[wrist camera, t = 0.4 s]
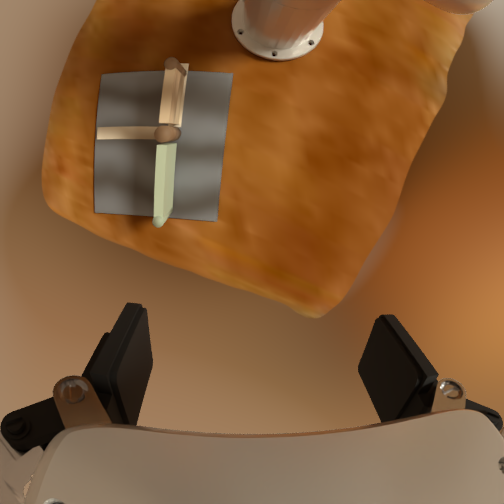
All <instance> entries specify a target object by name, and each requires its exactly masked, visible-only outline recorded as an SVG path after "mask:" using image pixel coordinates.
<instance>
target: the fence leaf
mask: <svg viewBox="0 0 504 504" xmlns="http://www.w3.org/2000/svg"><path fill="white" fill-rule="evenodd" d="M176 147H177V143H164V144H159V145H157V151H156V167H155V187H154V218H153V221H152V222H153V225H154V226H155V227H161V226H162V225H163V224H164V222H165V221H166V220H167V218H168V217H169V216H170V214H171V213H172V212H173V191H174V174H175V160H176Z"/></svg>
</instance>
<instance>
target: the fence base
mask: <svg viewBox="0 0 504 504" xmlns="http://www.w3.org/2000/svg"><path fill="white" fill-rule="evenodd" d="M164 66H165V71H140V72H123V73H111V74H102V77H101V84H100V92H99V101H98V110H97V122H96V137H95V162H94V199H95V213H110V214H125V215H140V216H154V187H155V167H156V151H157V145H159V144H164V143H177V147H176V160H175V174H174V191H173V212H172V213H171V214H170V216H169V217H168V218H180V219H192V220H204V221H216V222H217V217H218V206H219V195H220V184H221V174H222V164H223V154H224V145H225V136H226V127H227V119H228V110H229V102H230V94H231V87H232V79H233V74H232V73H220V72H202V71H188V66H189V64H186V63H179V61H178V60H177V59H176V58H174V57H169V58H167V59H166V60H165V62H164Z"/></svg>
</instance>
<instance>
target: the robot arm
mask: <svg viewBox="0 0 504 504" xmlns="http://www.w3.org/2000/svg"><path fill="white" fill-rule="evenodd" d="M340 1H341V0H239V1H238V2H237V4H236V5H235V7H234V9H233V13H232V29H233V32H234V35H235V36H236V38H237V40H238V41H239V42H240V43H241V45H242V46H243V47H244V48H246V49H247V50H248V51H250V52H251V53H253V54H255V55H257V56H259V57H262V58H265V59H269V60H274V61H287V60H293V59H297V58H300V57H302V56H304V55H306V54H308V53H309V52H310V51H311V50H313V49H314V48H315V47H316V46H317V44H318V43H319V41H320V39H321V37H322V34H323V27H324V25H323V20H324V19H325V18H326V17H327V15H328V14H329V13H330V12H331V11H332V10H333V9H334V8H335V6H336V5H337V4H338V3H339V2H340ZM424 1H426V2H428V3H430V4H432V5H434V6H435V7H437V8H440V9H442V10H444V11H447V12H449V13H453V14H460V15H466V14H472V13H475V12H477V11H480V10H482V9H483V8H485V7H486V6H488V5H489V4H490V3H491V2H492V1H493V0H424ZM239 33H242V35H240V34H239ZM308 43H311V45H309V44H308ZM272 54H275V56H272ZM152 366H153V358H152V351H151V344H150V335H149V327H148V316H147V310H146V308H143V307H142V305H141V304H137V303H127V304H126V305H125V307H124V309H123V311H122V312H121V314H120V316H119V318H118V320H117V321H116V323H115V325H114V327H113V329H112V331H111V332H110V333H108V332H107V333H105V334H104V335H103V337H102V338H101V340H100V342H99V344H98V346H97V347H96V349H95V351H94V353H93V355H92V357H91V359H90V361H89V363H88V364H87V366H86V368H85V370H84V372H83V374H82V376H67V377H64V378H62V379H60V380H59V381H58V382H57V383H56V384H55V386H54V389H53V397H51V398H49V399H46V400H43V401H41V402H38V403H35V404H32V405H30V406H27V407H25V408H21V409H19V410H16V411H13V412H11V413H9V414H7V415H6V416H5V417H4V418H3V420H2V422H1V426H0V427H1V430H0V504H504V427H503V421H502V418H501V416H500V415H499V413H498V412H496V411H494V410H492V409H490V408H488V407H485V406H482V405H480V404H477V403H475V402H473V401H470V400H468V399H466V391H465V388H464V387H463V386H462V384H461V383H459V382H458V381H456V380H454V379H451V378H443V379H441V380H440V381H437V379H436V378H437V377H438V375H439V374H438V373H437V371H436V370H435V369H434V367H433V366H432V365H431V363H430V362H429V360H428V359H427V358H426V356H425V355H424V353H423V352H422V351H421V349H420V348H419V347H418V345H417V344H416V343H415V342H414V340H413V339H412V337H411V336H410V335H409V334H408V332H407V331H406V330H405V328H404V327H403V326H402V324H401V323H400V322H399V321H398V319H397V318H396V317H395V316H394V315H380V316H379V318H377V319H376V320H375V323H374V326H373V329H372V331H371V334H370V337H369V339H368V342H367V345H366V348H365V350H364V353H363V355H362V358H361V360H360V363H359V365H358V372H359V374H360V377H361V379H362V380H363V383H364V385H365V387H366V389H367V391H368V394H369V396H370V398H371V400H372V402H373V405H374V407H375V409H376V411H377V413H378V416H379V418H380V420H381V423H377V424H371V425H365V426H360V427H359V426H358V427H351V428H344V429H335V430H326V431H315V432H302V433H284V434H221V433H203V432H191V431H179V430H168V429H160V428H152V427H143V426H136V425H137V421H138V417H139V413H140V409H141V406H142V402H143V398H144V395H145V391H146V387H147V384H148V380H149V377H150V373H151V370H152ZM31 475H33V477H31ZM31 479H32V480H31ZM30 480H31V483H30V486H29V489H28V492H27V494H26V498H25V497H24V493H23V490H24V486H25V485H26V484H27V482H29V481H30Z"/></svg>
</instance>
